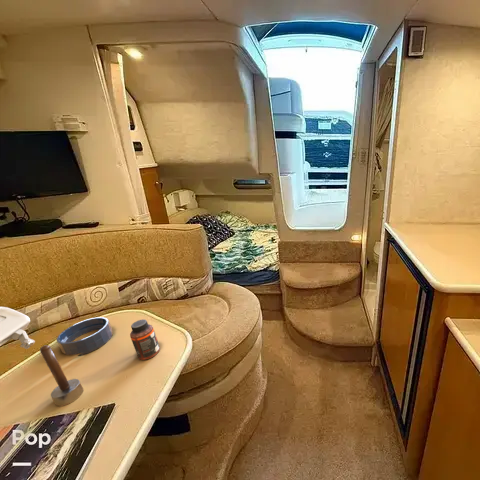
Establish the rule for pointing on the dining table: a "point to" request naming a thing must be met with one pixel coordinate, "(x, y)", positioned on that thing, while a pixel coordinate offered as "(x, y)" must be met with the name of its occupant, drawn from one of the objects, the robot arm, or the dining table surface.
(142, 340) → the supplement bottle
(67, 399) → the peg on round base
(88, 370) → the dining table surface
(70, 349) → the ring
